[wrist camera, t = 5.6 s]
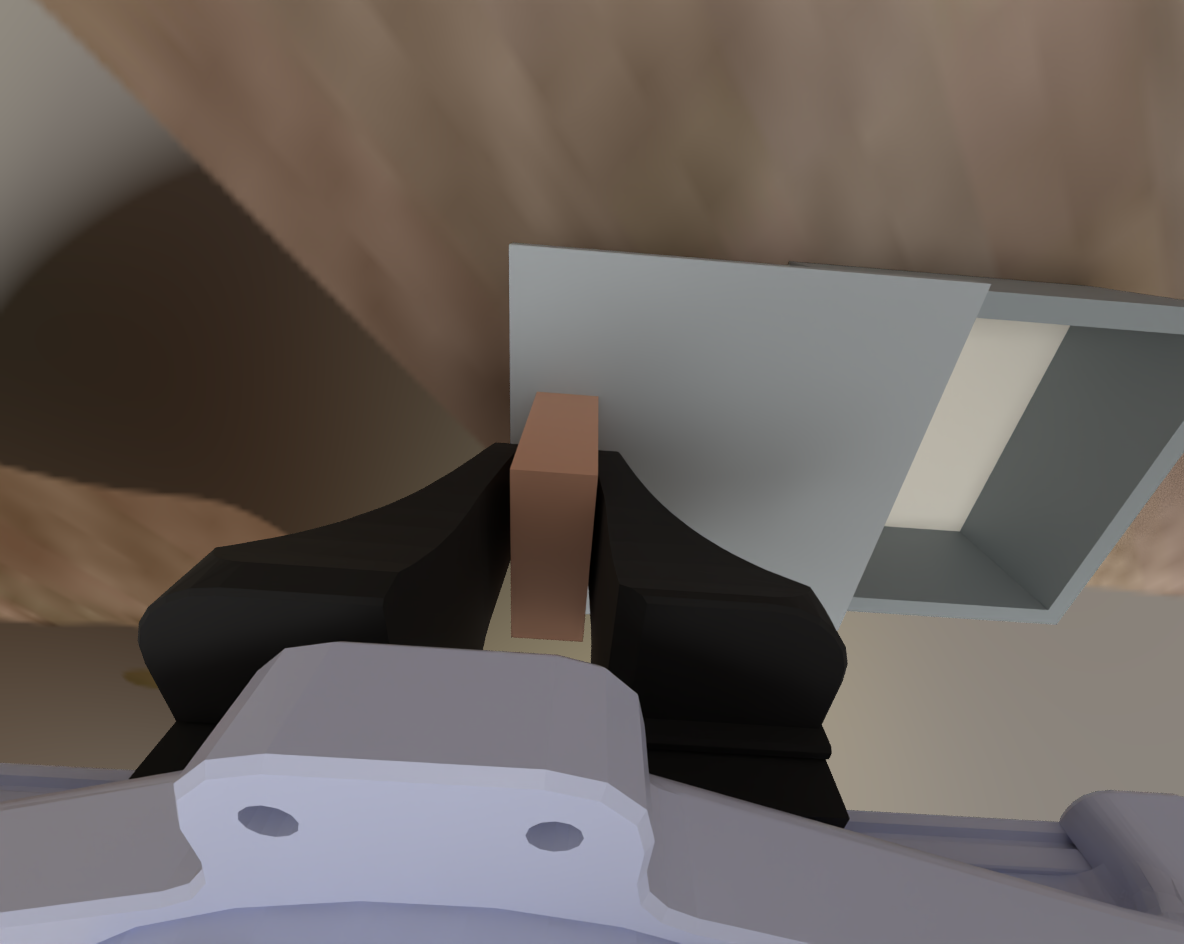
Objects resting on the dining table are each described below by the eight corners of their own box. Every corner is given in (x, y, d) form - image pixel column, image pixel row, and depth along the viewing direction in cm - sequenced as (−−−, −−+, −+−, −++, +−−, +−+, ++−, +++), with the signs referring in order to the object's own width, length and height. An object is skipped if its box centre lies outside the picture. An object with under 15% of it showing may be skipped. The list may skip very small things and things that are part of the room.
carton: (1092, 286, 16) (1285, 315, 11) (957, 535, 20) (1056, 624, 16) (789, 261, 15) (865, 281, 11) (725, 519, 20) (760, 605, 16)
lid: (972, 280, 11) (1192, 321, 7) (830, 616, 16) (909, 755, 12) (513, 242, 11) (460, 260, 7) (514, 595, 16) (485, 730, 12)
